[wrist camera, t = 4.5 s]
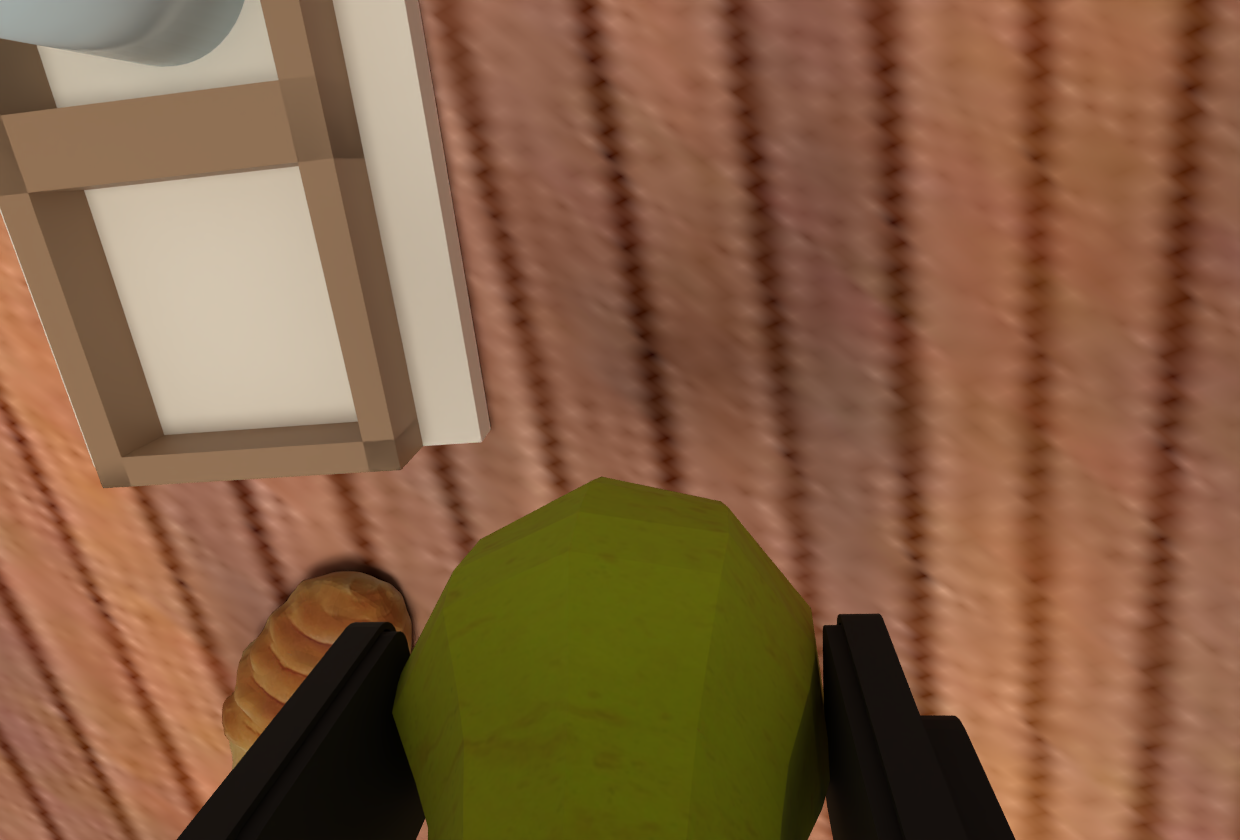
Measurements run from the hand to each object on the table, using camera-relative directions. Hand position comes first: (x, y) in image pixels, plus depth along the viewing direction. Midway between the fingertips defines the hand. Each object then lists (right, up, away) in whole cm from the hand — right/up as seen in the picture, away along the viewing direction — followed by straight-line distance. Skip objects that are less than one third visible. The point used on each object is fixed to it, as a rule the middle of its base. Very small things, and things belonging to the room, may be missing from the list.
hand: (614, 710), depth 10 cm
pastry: (-11, -6, +19) cm, 23 cm away
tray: (-12, +13, +12) cm, 21 cm away
